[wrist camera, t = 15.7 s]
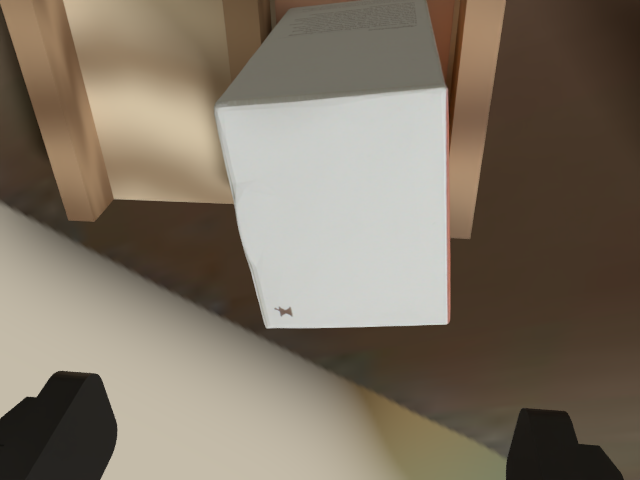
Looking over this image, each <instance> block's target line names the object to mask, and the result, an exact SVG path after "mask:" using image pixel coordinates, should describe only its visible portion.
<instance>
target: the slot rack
mask: <svg viewBox="0 0 640 480" xmlns="http://www.w3.org/2000/svg"><path fill="white" fill-rule="evenodd" d="M349 1H358V0H0V4H1V7H2V10H3V14H4V17H5V20H6V23H7V26H8V29H9V33H10V36H11V39H12V42H13V45H14V48H15V52H16V55H17V58H18V61H19V64H20V67H21V71H22V74H23V77H24V80H25V83H26V87H27V90H28V93H29V96H30V99H31V102H32V106H33V109H34V112H35V115H36V118H37V121H38V125H39V128H40V131H41V134H42V137H43V140H44V144H45V147H46V150H47V153H48V156H49V160H50V163H51V166H52V169H53V172H54V175H55V179H56V182H57V185H58V188H59V191H60V194H61V198H62V201H63V204H64V207H65V210H66V213H67V217H68V220H73V221H94V222H95V221H96V219H97V218H98V217H99V216H100V215H101V214H102V212H103V211H104V210H105V209H106V208H107V207H108V205H109V204H110V203H111V202H112V201H113V199H127V200H151V201H175V202H200V203H224V204H234V201H233V197H232V193H231V188H230V184H229V179H228V175H227V171H226V167H225V162H224V158H223V153H222V148H221V144H220V140H219V135H218V130H217V125H216V120H215V116H214V105H215V103H216V102H217V100H218V99H219V98H220V97H221V96H222V95H223V93H224V92H225V91H226V90H227V88H228V87H229V86H230V85H231V83H232V82H233V81H234V79H235V78H236V77H237V76H238V74H239V73H240V72H241V70H242V69H243V68H244V66H245V65H246V64H247V62H248V61H249V60H250V58H251V57H252V56H253V55H254V53H255V52H256V51H257V50H258V48H259V47H260V46H261V45H262V43H263V42H264V41H265V39H266V38H267V36H268V35H269V34H270V33H271V31H272V30H273V29H274V27H275V26H276V25H277V24H278V22H279V21H280V20H281V19H282V17H283V16H284V15H285V14H286V12H287V11H288V10H289V9H290V8H295V7H304V6H313V5H322V4H332V3H340V2H349ZM505 3H506V0H427V4H428V10H429V14H430V18H431V23H432V27H433V32H434V36H435V41H436V44H437V50H438V54H439V58H440V62H441V67H442V72H443V76H444V80H445V84H446V86H447V88H448V111H449V183H450V238H465V239H470V236H471V229H472V222H473V216H474V209H475V202H476V196H477V189H478V182H479V176H480V169H481V162H482V156H483V149H484V143H485V136H486V129H487V123H488V116H489V109H490V103H491V96H492V89H493V83H494V76H495V70H496V63H497V56H498V50H499V43H500V36H501V30H502V23H503V16H504V10H505Z"/></svg>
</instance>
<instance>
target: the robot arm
mask: <svg viewBox="0 0 640 480" xmlns="http://www.w3.org/2000/svg"><path fill="white" fill-rule="evenodd" d="M116 440H117V423H116V419H115V417H114V414H113V411H112V408H111V405H110V402H109V399H108V397H107V393H106V390H105V388H104V385H103V382H102V379H101V378H100V376H99V375H98V374H94V373H81V372H68V371H58V372H56V373H54V374H53V375H52V376H51V377H50V378H49V380H48V381H47V383H46V384H45V386H44V388H43V389H42V390H41V392H40V393H39V395H38V396H37V397H26V398H25V399H23V400H22V401H21V402H20V403H19V404H17V405H16V406H15V407H14V408H12V409H11V410H10V411H9V412H8V413H6V414H5V415H4V416H3V417H1V419H0V480H100V479H101V477H102V475H103V473H104V470H105V469H106V467H107V465H108V462H109V460H110V458H111V456H112V454H113V451H114V448H115V445H116ZM506 480H624V479H623V476H622V474H621V472H620V471H619V470H618V469H617V467H616V466H615V465H614V464H613V462H612V461H611V460H610V459H609V457H608V456H607V455H606V454H605V452H604V451H603V450H602V449H601V447H600V446H596V445H584V444H578V441H577V437H576V434H575V431H574V428H573V424H572V421H571V419H570V417H569V415H568V413H567V412H565V411H555V410H542V409H529V408H522V409H521V411H520V413H519V416H518V420H517V424H516V427H515V431H514V435H513V439H512V442H511V446H510V450H509V453H508V457H507V464H506Z"/></svg>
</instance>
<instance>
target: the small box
mask: <svg viewBox="0 0 640 480" xmlns="http://www.w3.org/2000/svg"><path fill="white" fill-rule="evenodd" d="M214 116H215V120H216V125H217V130H218V135H219V140H220V144H221V148H222V153H223V158H224V162H225V167H226V171H227V175H228V179H229V184H230V188H231V193H232V197H233V201H234V206H235V212H236V218H237V224H238V229H239V233H240V237H241V241H242V244H243V248H244V252H245V255H246V258H247V261H248V264H249V267H250V270H251V274H252V278H253V282H254V285H255V289H256V294H257V297H258V301H259V304H260V309H261V313H262V317H263V321H264V324H265V327H266V328H336V327H378V326H411V325H444V324H448V323H449V321H450V183H449V111H448V88H447V86H446V84H445V80H444V76H443V72H442V67H441V62H440V58H439V54H438V50H437V44H436V41H435V36H434V32H433V27H432V23H431V18H430V14H429V10H428V4H427V0H358V1H349V2H340V3H332V4H322V5H313V6H304V7H295V8H290V9H289V10H288V11H287V12H286V14H285V15H284V16H283V17H282V19H281V20H280V21H279V22H278V24H277V25H276V26H275V27H274V29H273V30H272V31H271V33H270V34H269V35H268V36H267V38H266V39H265V41H264V42H263V43H262V45H261V46H260V47H259V48H258V50H257V51H256V52H255V53H254V55H253V56H252V57H251V58H250V60H249V61H248V62H247V64H246V65H245V66H244V68H243V69H242V70H241V72H240V73H239V74H238V76H237V77H236V78H235V79H234V81H233V82H232V83H231V85H230V86H229V87H228V88H227V90H226V91H225V92H224V93H223V95H222V96H221V97H220V98H219V99H218V100H217V102H216V103H215V105H214Z"/></svg>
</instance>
